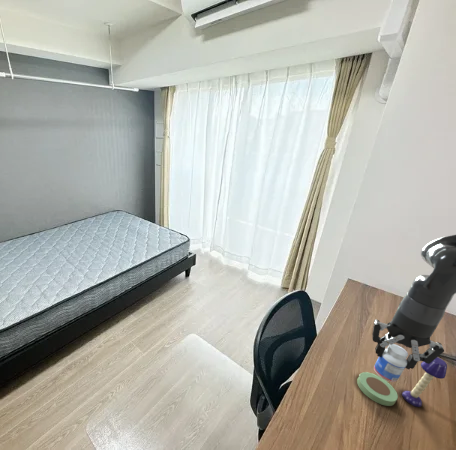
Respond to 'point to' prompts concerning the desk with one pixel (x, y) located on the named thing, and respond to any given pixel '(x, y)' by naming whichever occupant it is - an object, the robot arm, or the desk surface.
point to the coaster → (377, 389)
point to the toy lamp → (425, 380)
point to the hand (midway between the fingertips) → (392, 360)
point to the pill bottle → (391, 363)
